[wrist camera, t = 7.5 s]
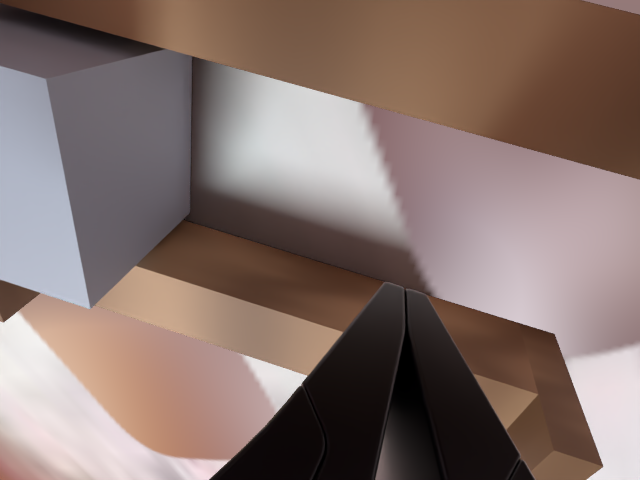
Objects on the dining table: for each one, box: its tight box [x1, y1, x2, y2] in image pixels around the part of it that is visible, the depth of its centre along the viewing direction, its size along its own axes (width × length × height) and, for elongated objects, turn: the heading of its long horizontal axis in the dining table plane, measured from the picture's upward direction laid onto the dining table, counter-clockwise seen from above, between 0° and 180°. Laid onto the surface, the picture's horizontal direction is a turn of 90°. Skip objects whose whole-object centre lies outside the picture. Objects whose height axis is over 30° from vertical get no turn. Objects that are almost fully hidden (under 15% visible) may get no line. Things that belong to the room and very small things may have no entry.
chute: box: [0, 0, 640, 480], centre depth 10 cm, size 18×11×4 cm, turn 78°
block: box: [0, 3, 192, 309], centre depth 10 cm, size 8×6×5 cm
